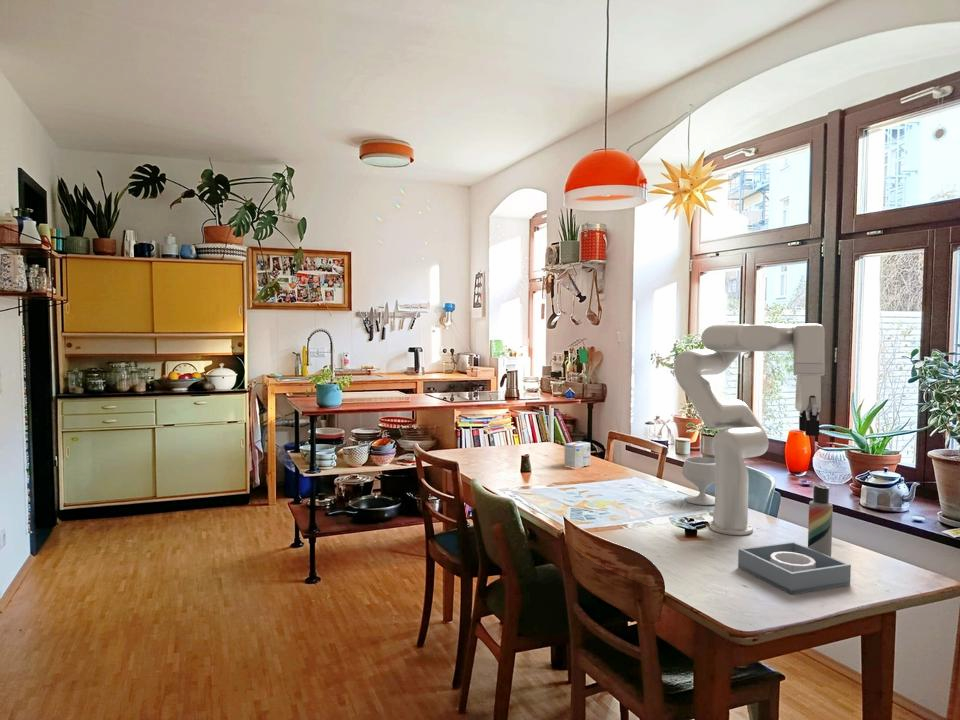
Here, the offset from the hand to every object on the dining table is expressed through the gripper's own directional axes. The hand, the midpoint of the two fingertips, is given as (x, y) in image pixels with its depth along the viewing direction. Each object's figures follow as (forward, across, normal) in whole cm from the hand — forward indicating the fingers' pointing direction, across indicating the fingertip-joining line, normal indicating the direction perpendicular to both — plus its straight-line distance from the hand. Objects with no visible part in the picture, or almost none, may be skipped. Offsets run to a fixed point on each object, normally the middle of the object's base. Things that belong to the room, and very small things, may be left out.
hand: (808, 433), depth 175 cm
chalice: (+32, -52, -26) cm, 67 cm away
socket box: (+34, +15, -6) cm, 38 cm away
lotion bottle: (+34, -2, +3) cm, 35 cm away
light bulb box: (+30, -96, -78) cm, 127 cm away
